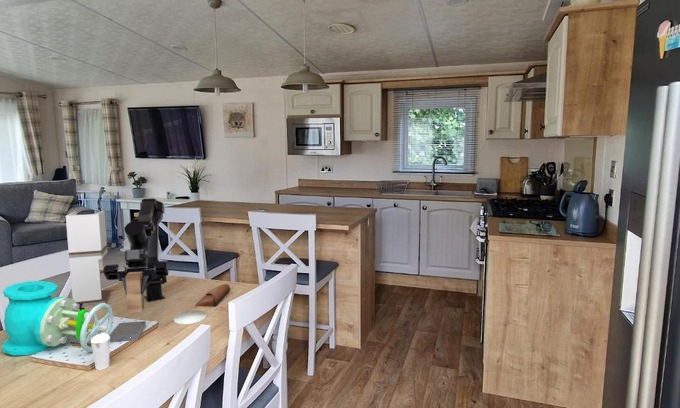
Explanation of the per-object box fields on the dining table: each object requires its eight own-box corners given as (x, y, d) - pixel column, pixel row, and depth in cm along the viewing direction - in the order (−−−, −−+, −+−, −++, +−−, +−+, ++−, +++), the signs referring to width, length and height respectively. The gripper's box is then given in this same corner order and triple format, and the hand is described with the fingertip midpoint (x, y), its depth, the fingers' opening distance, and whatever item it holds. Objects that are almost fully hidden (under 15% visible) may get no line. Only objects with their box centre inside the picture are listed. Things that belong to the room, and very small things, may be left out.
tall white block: (105, 304, 159) (98, 214, 154) (73, 307, 155) (65, 215, 151) (110, 294, 169) (104, 210, 165) (80, 297, 166) (73, 211, 162)
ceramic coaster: (169, 317, 146) (169, 315, 146) (200, 309, 153) (200, 308, 153) (178, 327, 137) (178, 325, 137) (211, 319, 144) (211, 317, 144)
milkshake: (94, 363, 114) (92, 328, 113) (115, 362, 114) (112, 328, 113) (86, 371, 110) (83, 336, 108) (107, 370, 110) (104, 335, 109)
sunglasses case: (210, 290, 174) (217, 277, 173) (225, 299, 174) (232, 286, 173) (194, 306, 156) (202, 292, 155) (210, 315, 156) (218, 301, 155)
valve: (30, 278, 129) (122, 291, 127) (28, 331, 131) (119, 345, 129) (-12, 293, 115) (92, 308, 113) (-13, 353, 117) (89, 369, 115)
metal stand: (119, 328, 136) (119, 323, 136) (145, 326, 138) (145, 321, 138) (109, 342, 127) (108, 336, 126) (137, 340, 128) (136, 333, 128)
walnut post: (130, 308, 134) (128, 272, 132) (144, 307, 135) (141, 271, 133) (128, 313, 130) (125, 276, 128) (141, 311, 131) (139, 275, 130)
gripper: (102, 240, 131) (94, 284, 122) (165, 237, 136) (162, 279, 127) (110, 258, 139) (103, 301, 130) (169, 254, 144) (167, 295, 135)
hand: (134, 294), depth 130 cm, fingers closed on walnut post, 4 cm apart
